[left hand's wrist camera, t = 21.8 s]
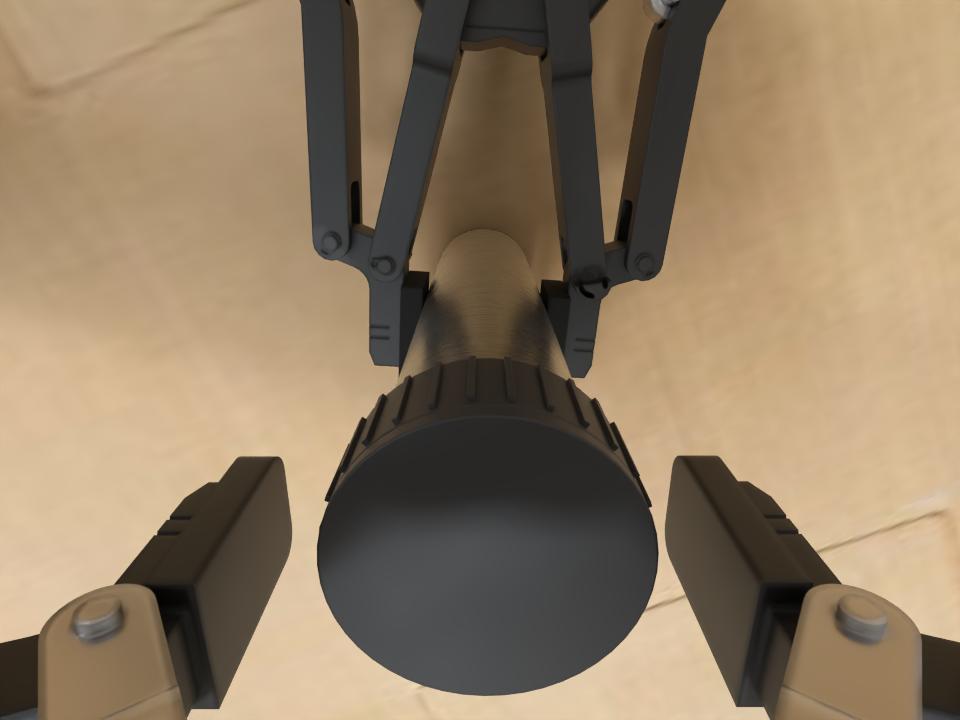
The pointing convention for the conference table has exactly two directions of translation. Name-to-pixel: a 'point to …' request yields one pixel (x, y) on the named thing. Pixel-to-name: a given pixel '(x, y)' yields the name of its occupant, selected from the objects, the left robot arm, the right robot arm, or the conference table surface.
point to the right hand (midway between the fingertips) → (474, 443)
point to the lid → (487, 531)
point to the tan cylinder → (483, 309)
